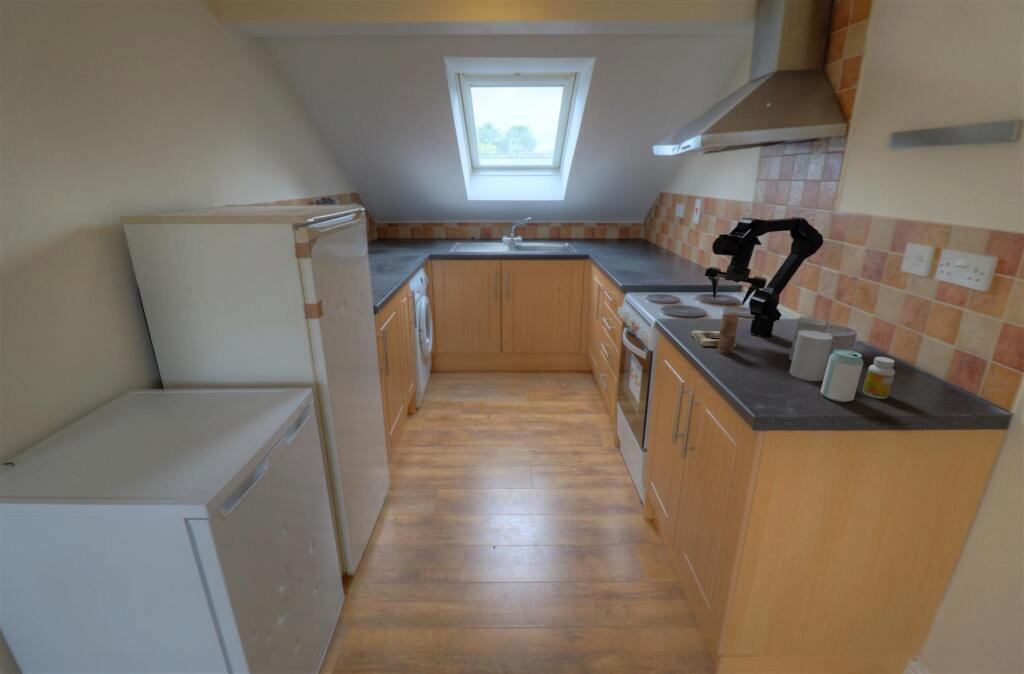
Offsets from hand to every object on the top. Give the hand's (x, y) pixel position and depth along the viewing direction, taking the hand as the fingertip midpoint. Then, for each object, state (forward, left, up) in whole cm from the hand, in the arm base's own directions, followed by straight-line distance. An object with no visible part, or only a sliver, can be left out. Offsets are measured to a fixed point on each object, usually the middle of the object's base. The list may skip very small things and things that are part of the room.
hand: (728, 301), depth 162 cm
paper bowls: (-30, +1, -13) cm, 33 cm away
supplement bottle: (-39, +33, -13) cm, 53 cm away
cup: (-24, +27, -13) cm, 38 cm away
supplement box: (-24, +13, -13) cm, 30 cm away
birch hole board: (+2, +9, -12) cm, 15 cm away
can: (-30, +40, -13) cm, 51 cm away
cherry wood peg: (-2, +18, -12) cm, 22 cm away
